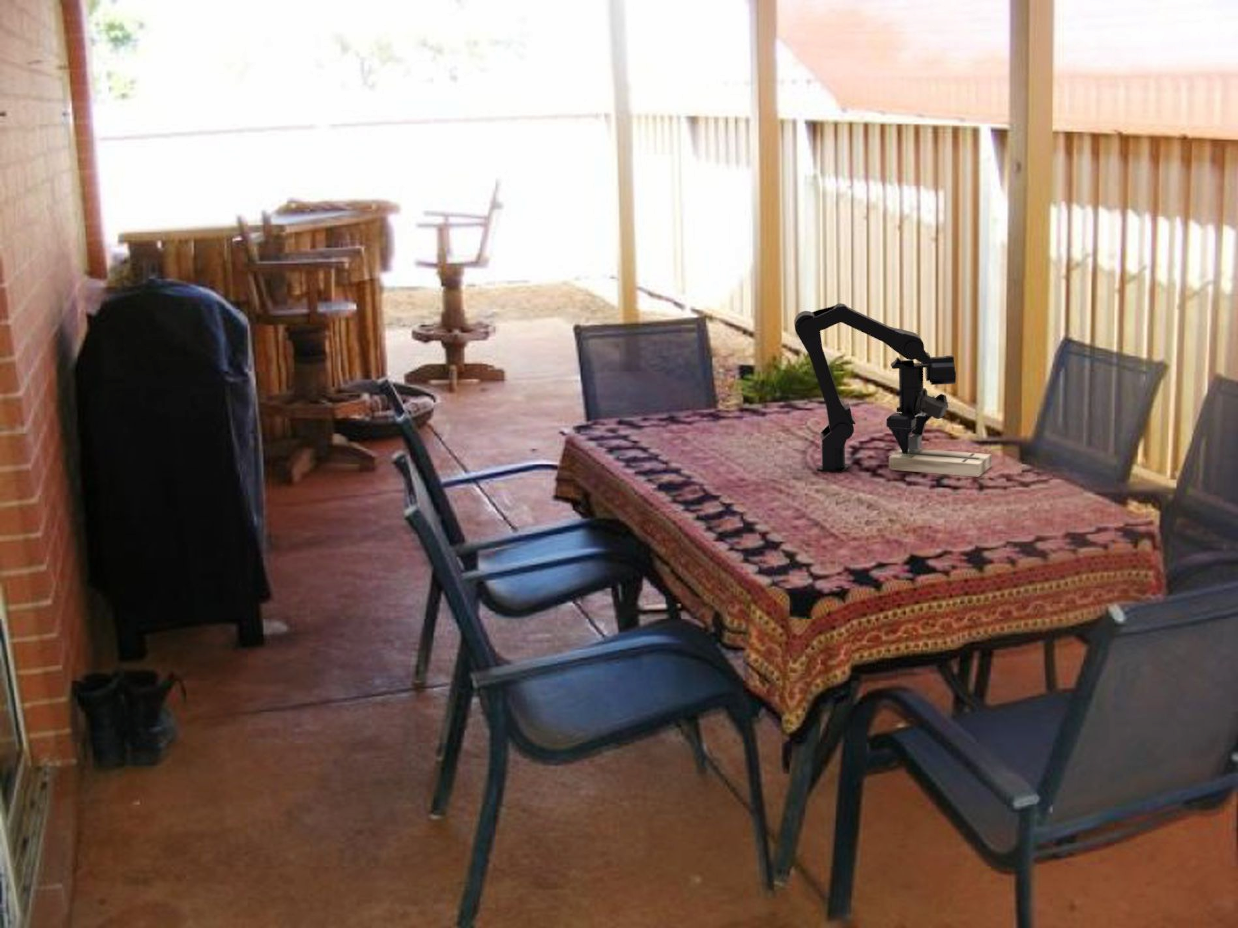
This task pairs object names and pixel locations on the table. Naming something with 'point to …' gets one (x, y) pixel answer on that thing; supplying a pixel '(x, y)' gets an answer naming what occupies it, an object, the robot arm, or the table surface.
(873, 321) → the robot arm
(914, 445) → the fader knob
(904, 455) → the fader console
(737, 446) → the table surface
